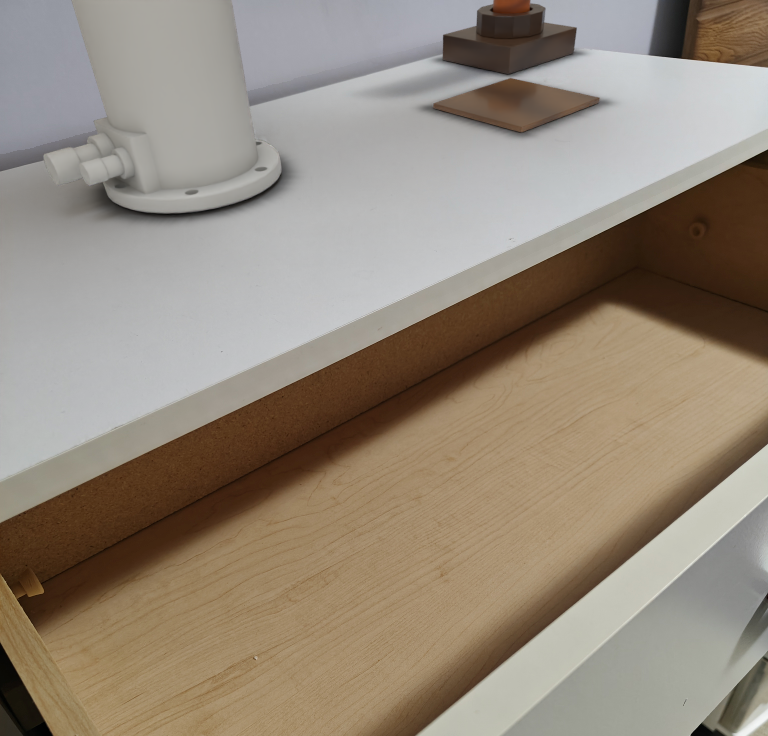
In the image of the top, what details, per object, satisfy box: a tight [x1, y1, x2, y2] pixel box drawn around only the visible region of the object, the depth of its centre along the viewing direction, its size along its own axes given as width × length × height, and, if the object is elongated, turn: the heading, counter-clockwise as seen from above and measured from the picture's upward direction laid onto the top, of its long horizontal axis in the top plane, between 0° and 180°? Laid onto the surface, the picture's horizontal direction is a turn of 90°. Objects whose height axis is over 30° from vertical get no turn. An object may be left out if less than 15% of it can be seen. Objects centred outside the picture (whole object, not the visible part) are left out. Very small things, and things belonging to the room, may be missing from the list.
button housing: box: [442, 2, 578, 75], centre depth 68 cm, size 10×9×4 cm
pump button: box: [492, 0, 531, 14], centre depth 67 cm, size 4×4×2 cm
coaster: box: [432, 77, 601, 133], centre depth 58 cm, size 10×10×1 cm
